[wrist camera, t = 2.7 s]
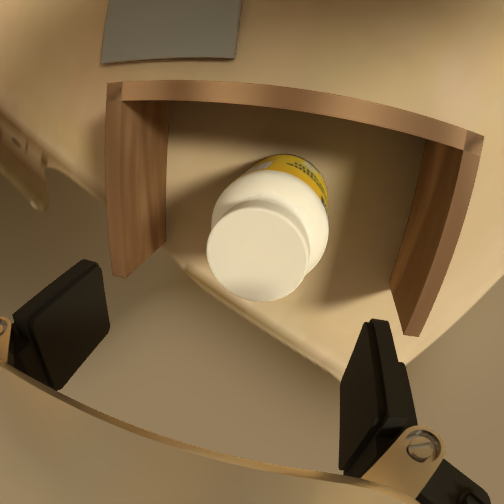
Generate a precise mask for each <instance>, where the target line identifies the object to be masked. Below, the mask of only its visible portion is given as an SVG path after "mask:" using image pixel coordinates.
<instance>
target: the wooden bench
mask: <svg viewBox="0 0 504 504" xmlns="http://www.w3.org/2000/svg"><path fill="white" fill-rule="evenodd" d="M170 100H178V101H204V102H220V103H233V104H245V105H255V106H264V107H273V108H281V109H288V110H295V111H302V112H308V113H315V114H321V115H326V116H332V117H337V118H342V119H348V120H353V121H357V122H362V123H367V124H371V125H376V126H380V127H384V128H388V129H392V130H396V131H400V132H404V133H408V134H411V135H415V136H419V137H422V138H426V139H427V140H426V145H425V151H424V156H423V161H422V165H421V170H420V175H419V179H418V183H417V188H416V192H415V196H414V200H413V204H412V208H411V212H410V216H409V219H408V223H407V227H406V230H405V234H404V237H403V241H402V244H401V247H400V251H399V254H398V257H397V260H396V264H395V267H394V270H393V273H392V276H391V279H390V282H389V286H390V289H391V292H392V295H393V299H394V302H395V306H396V309H397V313H398V316H399V320H400V323H401V327H402V331H403V335H408V336H415V337H419V335H420V333H421V331H422V329H423V327H424V325H425V322H426V320H427V318H428V316H429V314H430V311H431V309H432V307H433V304H434V302H435V300H436V297H437V295H438V292H439V290H440V288H441V285H442V283H443V280H444V277H445V275H446V272H447V270H448V267H449V264H450V261H451V259H452V256H453V253H454V250H455V247H456V244H457V241H458V238H459V235H460V232H461V229H462V226H463V222H464V219H465V216H466V212H467V209H468V205H469V202H470V198H471V194H472V190H473V186H474V182H475V178H476V174H477V170H478V165H479V161H480V156H481V151H482V146H483V140H484V136H482V135H479V134H477V133H474V132H471V131H469V130H466V129H463V128H460V127H457V126H455V125H452V124H449V123H446V122H443V121H439V120H436V119H433V118H430V117H427V116H423V115H420V114H416V113H413V112H409V111H406V110H402V109H398V108H394V107H390V106H386V105H382V104H378V103H374V102H369V101H365V100H360V99H355V98H350V97H345V96H340V95H335V94H329V93H323V92H317V91H311V90H304V89H297V88H289V87H281V86H272V85H263V84H252V83H239V82H223V81H195V80H159V81H132V82H117V83H108V84H107V100H106V125H105V179H106V204H107V221H108V234H109V246H110V256H111V265H112V274H113V275H114V276H118V277H122V278H127V277H128V276H129V275H130V274H131V273H132V272H133V271H134V270H135V269H136V268H137V267H138V266H139V265H140V264H141V263H143V262H144V261H145V260H146V259H147V258H148V257H149V256H150V255H151V254H152V253H153V252H154V251H156V250H157V249H158V248H159V247H160V246H161V245H162V244H163V243H164V242H165V241H166V236H165V213H166V166H167V143H168V125H169V110H170Z"/></svg>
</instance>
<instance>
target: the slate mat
mask: <svg viewBox="0 0 504 504" xmlns="http://www.w3.org/2000/svg"><path fill="white" fill-rule="evenodd" d="M241 6H242V0H109V4H108V10H107V16H106V23H105V30H104V37H103V46H102V54H101V64H109V63H117V62H127V61H139V60H154V59H177V58H219V59H235V54H236V46H237V38H238V29H239V21H240V14H241Z"/></svg>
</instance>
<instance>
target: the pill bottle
mask: <svg viewBox="0 0 504 504" xmlns="http://www.w3.org/2000/svg"><path fill="white" fill-rule="evenodd" d="M328 234H329V220H328V193H327V188H326V184H325V181H324V179H323V177H322V175H321V174H320V172H319V171H318V170H317V169H316V167H314V166H313V165H312V164H311V163H310V162H308V161H307V160H305V159H303V158H301V157H299V156H295V155H291V154H276V155H272V156H269V157H266V158H264V159H262V160H261V161H259V162H258V163H256V164H255V165H254V166H253V167H251V168H250V169H249V170H247V171H246V172H245V173H243V174H242V175H241V176H240V177H238V178H237V179H236V180H234V181H233V182H232V183H231V184H230V185H229V186H228V187H227V188H226V189H225V190H224V191H223V192H222V194H221V195H220V197H219V198H218V200H217V202H216V204H215V207H214V210H213V214H212V220H211V232H210V234H209V237H208V241H207V248H206V253H207V260H208V264H209V267H210V269H211V271H212V273H213V275H214V277H215V278H216V279H217V281H218V282H219V283H220V284H221V285H222V286H223V287H224V288H225V289H227V290H228V291H229V292H231V293H232V294H234V295H236V296H238V297H241V298H243V299H247V300H251V301H260V302H266V301H273V300H277V299H280V298H282V297H285V296H286V295H288V294H290V293H291V292H292V291H294V290H295V289H296V288H297V287H298V286H299V284H300V283H301V282H302V280H303V278H304V276H305V275H306V274H307V273H308V272H310V271H311V270H312V269H313V268H314V267H315V266H316V264H317V263H318V262H319V260H320V259H321V257H322V255H323V253H324V251H325V249H326V245H327V241H328Z"/></svg>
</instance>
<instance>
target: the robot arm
mask: <svg viewBox="0 0 504 504" xmlns="http://www.w3.org/2000/svg"><path fill="white" fill-rule="evenodd" d="M12 316H13V319H14V323H13V324H11V322H10V320H9V319H7V318H6V317H2V316H0V504H491V502H490V498H489V496H488V494H487V493H486V492H485V491H484V489H482V488H481V487H480V486H478V485H477V484H476V483H474V482H473V481H472V480H471V479H469V478H468V477H467V476H465V475H464V474H463V473H461V472H460V471H459V470H457V469H456V468H455V467H454V466H452V465H451V464H450V463H449V462H447V461H446V460H445V459H444V455H445V450H446V447H445V443H444V440H443V439H442V437H441V436H440V434H439V433H437V432H436V431H435V430H434V429H432V428H430V427H427V426H422V425H418V424H417V418H416V413H415V408H414V403H413V398H412V393H411V389H410V385H409V380H408V376H407V371H406V367H405V364H404V363H403V362H398V358H397V354H396V350H395V345H394V341H393V337H392V333H391V329H390V325H389V322H388V321H385V320H378V319H371V320H370V322H364V324H363V326H362V329H361V332H360V334H359V337H358V340H357V342H356V345H355V348H354V350H353V353H352V355H351V358H350V360H349V363H348V365H347V368H346V370H345V373H344V375H343V377H342V380H341V384H340V440H339V470H344V474H343V475H338V474H331V473H325V472H319V471H311V470H304V469H298V468H292V467H286V466H280V465H274V464H269V463H264V462H259V461H254V460H250V459H245V458H240V457H236V456H231V455H227V454H223V453H219V452H215V451H212V450H208V449H204V448H200V447H197V446H194V445H190V444H187V443H183V442H180V441H177V440H174V439H171V438H168V437H165V436H161V435H159V434H156V433H153V432H150V431H147V430H144V429H142V428H139V427H136V426H134V425H131V424H129V423H126V422H124V421H121V420H119V419H116V418H114V417H111V416H109V415H107V414H104V413H102V412H100V411H97V410H95V409H93V408H91V407H89V406H86V405H84V404H82V403H80V402H78V401H76V400H74V399H71V398H69V397H67V396H65V395H63V394H61V393H59V392H57V390H60V389H62V388H63V386H64V385H65V384H66V383H67V382H68V380H69V379H70V378H71V377H72V376H73V374H74V373H75V372H76V371H77V369H78V368H79V367H80V366H81V364H82V363H83V362H84V361H85V360H86V359H87V357H88V356H89V355H90V354H91V353H92V351H93V350H94V349H95V348H96V347H97V345H98V344H99V343H100V342H101V341H102V340H103V338H104V337H105V336H106V335H107V334H108V332H109V329H110V323H109V316H108V311H107V305H106V298H105V292H104V284H103V276H102V270H101V268H100V267H99V265H98V264H97V263H96V262H93V261H89V260H85V259H83V260H81V261H80V262H78V263H77V264H76V265H74V266H73V267H72V268H70V269H69V270H68V271H66V272H65V273H64V274H62V275H61V276H60V277H58V278H57V279H56V280H55V281H53V282H52V283H51V284H49V285H48V286H47V287H46V288H44V289H43V290H42V291H41V292H40V293H38V294H37V295H36V296H34V297H33V298H32V299H31V300H29V301H28V302H27V303H26V304H25V305H23V306H22V307H21V308H20V309H18V310H17V311H16V312H15V313H14V314H13V315H12Z"/></svg>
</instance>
